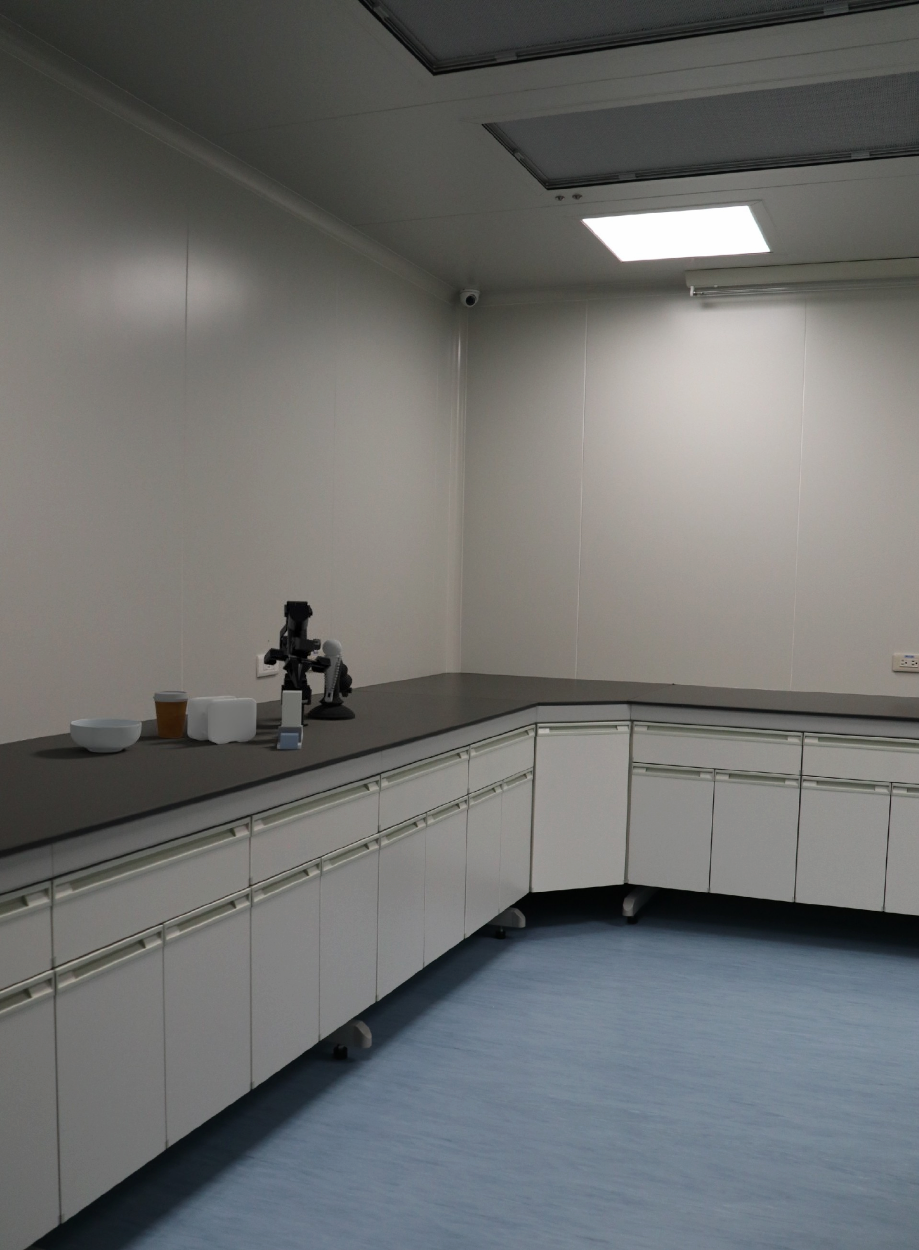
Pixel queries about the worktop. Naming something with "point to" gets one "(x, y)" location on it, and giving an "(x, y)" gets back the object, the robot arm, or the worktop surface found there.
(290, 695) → the grey rectangular box
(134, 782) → the worktop surface
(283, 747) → the cord rail
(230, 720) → the cable organizer
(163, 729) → the disposable coffee cup
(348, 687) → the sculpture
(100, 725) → the cereal bowl
